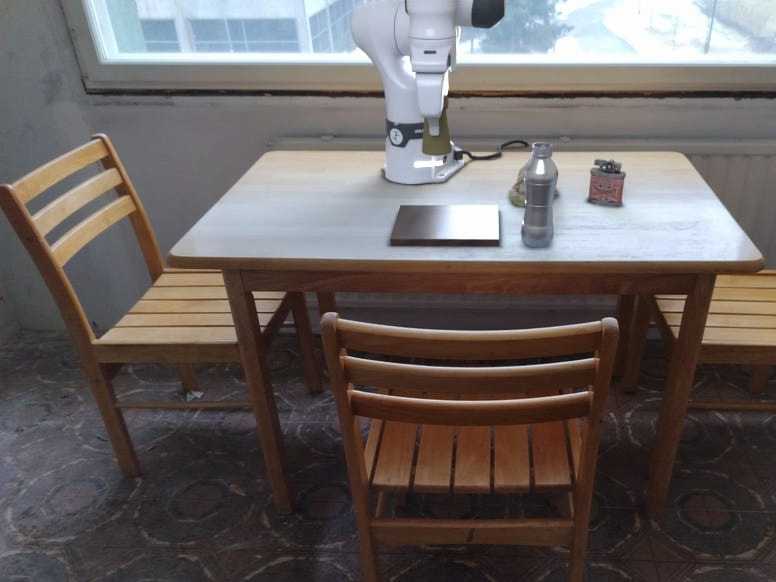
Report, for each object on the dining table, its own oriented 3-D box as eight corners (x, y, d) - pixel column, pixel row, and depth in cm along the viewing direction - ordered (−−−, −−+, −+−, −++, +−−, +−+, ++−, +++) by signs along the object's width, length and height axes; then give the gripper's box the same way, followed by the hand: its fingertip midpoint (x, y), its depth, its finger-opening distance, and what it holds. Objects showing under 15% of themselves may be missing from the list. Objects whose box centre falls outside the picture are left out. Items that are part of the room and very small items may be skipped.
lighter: (623, 203, 151) (629, 160, 145) (619, 208, 148) (625, 164, 142) (589, 198, 153) (594, 155, 148) (585, 202, 151) (589, 160, 145)
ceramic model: (514, 184, 161) (515, 143, 155) (559, 187, 159) (562, 146, 153) (504, 205, 149) (505, 162, 144) (553, 209, 148) (556, 165, 142)
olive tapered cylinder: (447, 156, 127) (446, 97, 120) (418, 154, 128) (414, 95, 121) (455, 147, 132) (453, 89, 125) (426, 145, 133) (423, 88, 126)
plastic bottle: (518, 238, 135) (521, 140, 123) (550, 237, 135) (557, 139, 124) (522, 251, 130) (526, 151, 118) (556, 250, 130) (563, 150, 119)
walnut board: (498, 212, 146) (498, 205, 145) (499, 246, 132) (499, 239, 131) (400, 211, 147) (400, 204, 146) (390, 246, 132) (389, 238, 131)
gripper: (422, 43, 128) (425, 115, 136) (409, 63, 111) (414, 145, 119) (454, 43, 128) (455, 116, 136) (446, 64, 111) (448, 145, 119)
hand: (436, 130), depth 127 cm, fingers closed on olive tapered cylinder, 4 cm apart
